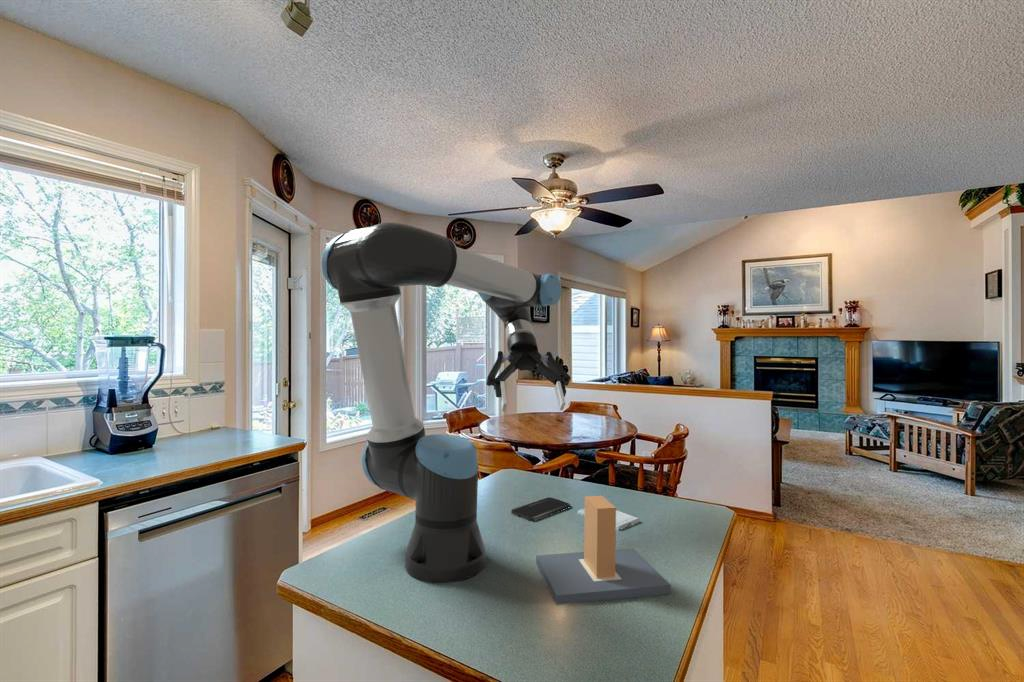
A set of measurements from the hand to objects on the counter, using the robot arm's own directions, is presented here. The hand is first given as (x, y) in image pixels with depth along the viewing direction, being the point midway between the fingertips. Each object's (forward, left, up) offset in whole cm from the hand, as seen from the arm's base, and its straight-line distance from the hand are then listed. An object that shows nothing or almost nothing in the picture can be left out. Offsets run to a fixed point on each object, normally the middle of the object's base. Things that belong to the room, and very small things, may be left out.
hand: (534, 407), depth 103 cm
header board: (+7, -23, -28) cm, 36 cm away
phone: (+5, +11, -28) cm, 31 cm away
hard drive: (+20, +4, -28) cm, 35 cm away
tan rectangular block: (+7, -23, -26) cm, 35 cm away
